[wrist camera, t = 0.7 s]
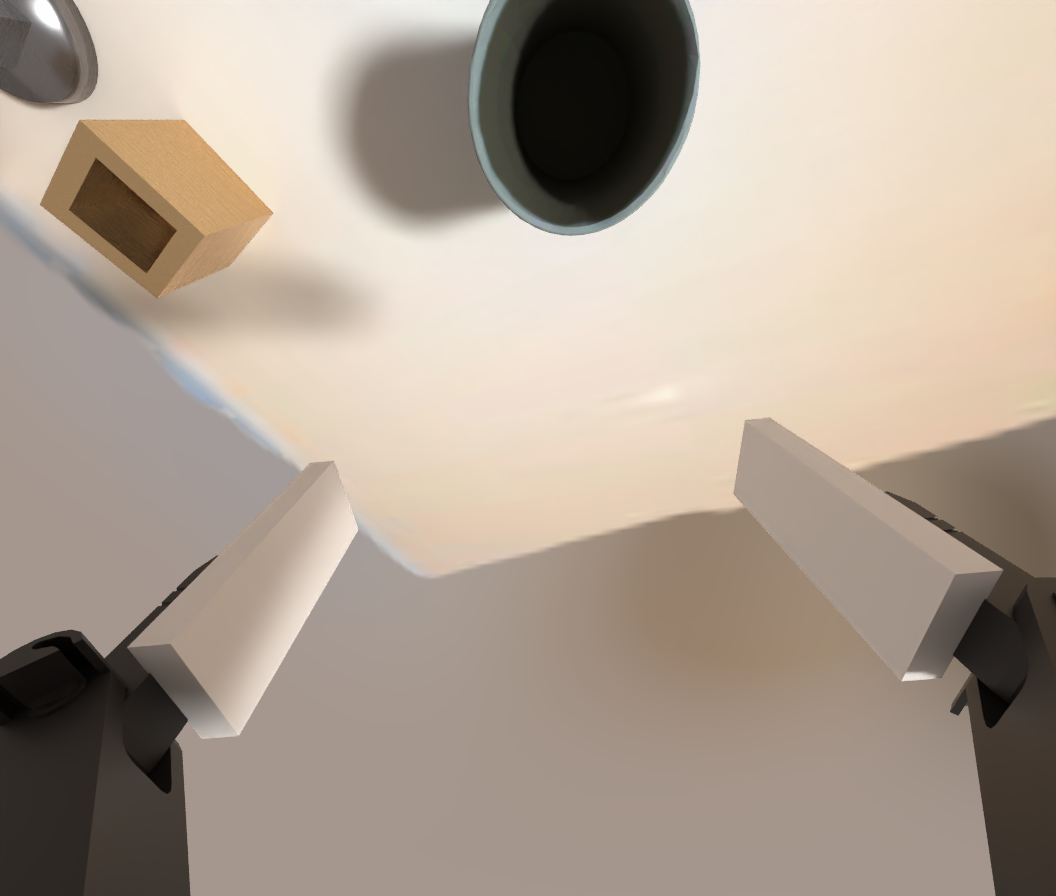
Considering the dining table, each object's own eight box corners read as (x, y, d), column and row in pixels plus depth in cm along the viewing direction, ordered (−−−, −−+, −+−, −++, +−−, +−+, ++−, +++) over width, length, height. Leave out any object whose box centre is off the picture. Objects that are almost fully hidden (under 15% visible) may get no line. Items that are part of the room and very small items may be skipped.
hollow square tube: (184, 120, 28) (79, 119, 22) (273, 213, 31) (204, 235, 25) (142, 187, 31) (39, 204, 25) (228, 266, 34) (157, 298, 28)
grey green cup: (528, 221, 31) (516, 264, 22) (471, 51, 25) (421, 11, 16) (660, 165, 28) (712, 186, 19) (631, -41, 22) (685, -154, 13)
